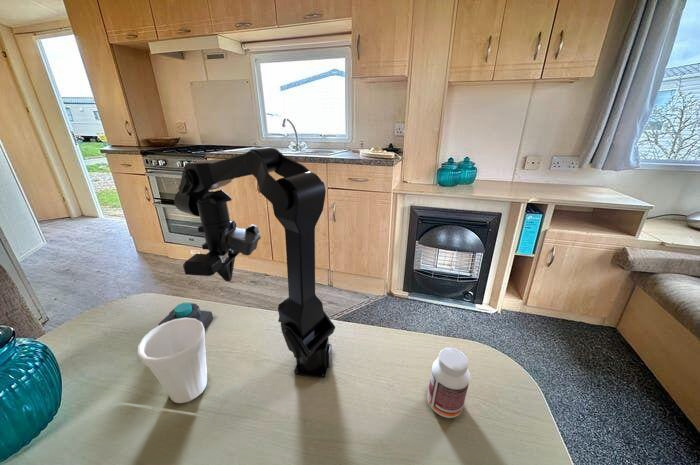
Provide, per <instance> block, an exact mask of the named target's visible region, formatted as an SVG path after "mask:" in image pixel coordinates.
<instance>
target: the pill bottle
mask: <svg viewBox="0 0 700 465" xmlns="http://www.w3.org/2000/svg"><path fill="white" fill-rule="evenodd" d="M431 366H432V367H431V371H430V377H429V383H428V387H427V388H428V389H427V403H428V405H429V406H430V408H431V409H432V411H433V412H434V413H436V414H438V415H439V416H441V417H443V418H447V419H454V418H456V417H458V416H459V415H460V414H461V413H462V411H463V409H464V405H465V401H466V397H467V393H468V388H469V385H470V380H471V374H470V370H469V368H468V367H469V359H468V357H467V356H466V355H465V354H464V353H463V352H462V351H461V350H459V349H457V348H454V347H444V348H443V349H441V350H440V351H439V353H438V357H437V358H435V359H434V361H433V363H432V365H431Z"/></svg>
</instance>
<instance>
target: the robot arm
mask: <svg viewBox="0 0 700 465" xmlns="http://www.w3.org/2000/svg"><path fill="white" fill-rule="evenodd" d="M272 172H274V173H275V174H276V175H278V176H280V178H278V179H275V178H274V177H273V176H272V175H271V174H270V173H272ZM247 176H253V177H254V178H255V179H256V182H257V186H258V191H259V193H260V194H261V195H262V196H263V197H264V198H266V200H267V201H268V202H270V203H271V205H272V209H273V214H274V217H275V218H276V219H277V221H278V222H279V223H280V225H281V226H282V227H283V229H284V237H285V238H284V239H285V249H286V250H285V253H286V254H285V255H286V256H285V257H286V270H287V288H288V297H287V298H286V299H284V300H283V301H282V302H280V303H278V306H277V312H278V320H277V322H278V323H280V328H281V334H282V336H283V338H284V341H285V343H286V346H287V348H288V350H289V351H290V352H292V354H293V357H294V358H295V361H296V362H295V363H296V365H295V368H294V370H293V373H294V375H295V376H303V377H311V378H319V379H325V378H326V376H327V372H328V369H330V368H331V364H332V360H333V355H332V354H333V351H332V350H333V348H332V344H331V343H330V340H329V339H330V338H329V337H330V336H331V335H333V334H334V332H335V331H336V330H335V329H336V326H335V324H334V322H333V321H332V320H331V318H329V316H328V315H327V313H326V312H325V310H324V305H323V301H322V300H320V297H318V296H317V295H316V237H315V236H316V226H317V224H318V222H319V219H320V218H321V215H322V213H323V211H324V206H325V200H326V193H327V191H326V190H327V188H326V185H325V182H324V181H322V179H321V178H320V177H319V176H318V175H317V174H316V173H315V172H312V171H311V170H309V168H307V167H306V166H305V165H303V164H302V163H300V162H297V161H296V160H293V159H291V158H289V157H287V156H285V155H284V154H283V153H282V152H281V151H279V150H278V149H277V148H275V147H272V146H268V147H260V148H259V147H258V148H252V149H249V151H247V152H243V153H241V154H237V155H234V156H231V157H228V158H224V159H223V158H214V159H206V160H200V161H194V162H187V163H185V164H184V166H183V171H182V173H181V179H180V182H179V185H178V191H177V192H176V193H175V195H174V199H173V204H174V206H175V207H176V209H177V210H178V211H181V212H182V213H185V214H189V215H192V216H195V217H199V219H200V224H201V225H200V226H198V227H197V231H198V233H203V236H204V240H205V242H204V243H203V244H202V245H201V247H202V250H208V252H207V253H195V254H193V256H191V257H190V258H188V259H186V260H185V262H184V263H183V264H182V267H183V271H184V274H185V275H186V276H200V277H211V276H214V275H215V274H216V273H217V274H218V275H219V276H220V277H221V278H222V279H223V280H224V281H225V282H226V283H227V282H228V283H229V282H230V283H231V281H232V280H233V274H234V267H235V261H236V258H237V257H238V256H239V254H241V255H244V256H250V255H251V254H253V252H254V251H255V250H256V249H257V247H258V243H259V241H260V240H261V238H262V237H261V233H260V230H259V227H258V226H257V225H255V224H251V225H249V226H248V227H246V228H245V227H238V226H237V222H236V221H235V220H231V217H230V213H229V208H228V203H229V202H232V200H233V199H232V197H231V196H230V194H228V193H226V192H225V191H224V190H223V189H220V188H222V187H225V186H227V185H228V184H231V183H232V182H233V180H235V179H239V178H242V177H247ZM218 189H219V190H218ZM213 190H215V191H213Z"/></svg>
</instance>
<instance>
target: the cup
mask: <svg viewBox="0 0 700 465" xmlns="http://www.w3.org/2000/svg"><path fill="white" fill-rule="evenodd" d="M205 339H206V330H205V328H204V326H203V324H202V322H200V321H199V320H197V319H195V318H180V319H174V320H171V321H168V322H166V323H163V324H161V325H157V326H156V327H154V328H152V329H151V330H150V331H148V333H146V334H145V335H144V336H143V337H142V339H141V340H140V342H139V343H138V345H137V347H136V350H137V356H138V358H139V359H140V361H141V362H142V364H144V365H145V366H146V367H147V368H149V369H150V371H151V372H152V373H153V375H154V376H155V377H156V379H157V381H158V382H159V384H160V385H161V386H162V388H163V389H164V390H165V392H166V393H167V394H168V396H169V398H170V400H171V401H172V402H173V403H176V404H184V403H189V402H191V401H193V400H194V399H196V398H198V396H200V395H201V394H202V393H203V392H204V390H205V389H206V388H207V384H208V372H207V371H208V370H207V355H206V354H207V353H206V341H205Z"/></svg>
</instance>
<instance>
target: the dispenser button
mask: <svg viewBox="0 0 700 465" xmlns="http://www.w3.org/2000/svg"><path fill="white" fill-rule="evenodd" d="M190 303H191V302H182V303H179V304H177V305H176V306H175V307H174V308H173V309H174V311H175V315H176V317H178V318H181V317H186V316H187V315H189V314H191V313H192V311H193V310H192V306H191V304H190Z"/></svg>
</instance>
